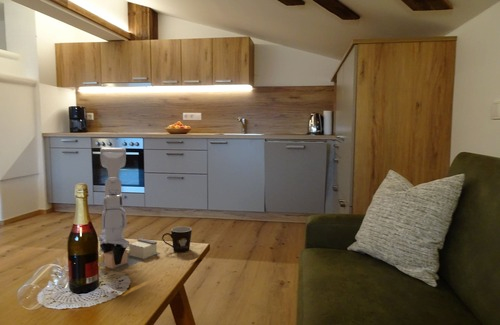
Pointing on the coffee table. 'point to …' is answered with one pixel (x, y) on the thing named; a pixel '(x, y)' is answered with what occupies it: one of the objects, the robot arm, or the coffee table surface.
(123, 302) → the coffee table surface
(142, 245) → the pad
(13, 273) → the coffee table surface
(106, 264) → the stub
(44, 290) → the coffee table surface
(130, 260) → the mat
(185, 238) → the coffee mug
